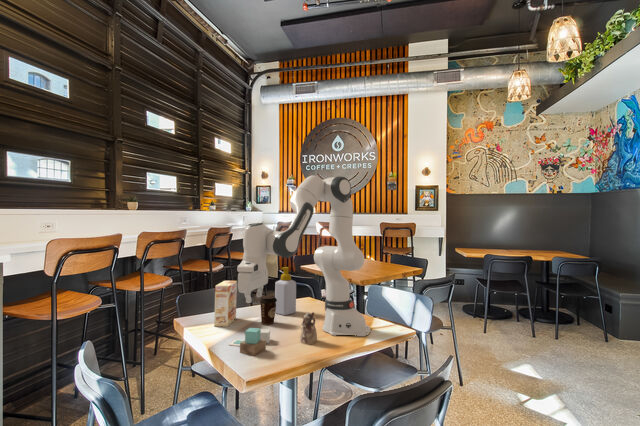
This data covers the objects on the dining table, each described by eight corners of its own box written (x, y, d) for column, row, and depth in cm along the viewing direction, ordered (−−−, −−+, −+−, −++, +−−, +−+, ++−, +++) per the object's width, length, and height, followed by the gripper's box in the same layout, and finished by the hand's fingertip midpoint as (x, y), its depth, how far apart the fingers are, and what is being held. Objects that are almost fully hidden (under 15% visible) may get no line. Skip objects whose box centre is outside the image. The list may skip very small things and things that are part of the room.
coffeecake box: (228, 326, 159) (229, 285, 160) (213, 326, 159) (214, 285, 160) (236, 318, 174) (237, 280, 175) (223, 317, 174) (224, 280, 175)
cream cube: (270, 339, 143) (270, 329, 143) (268, 343, 138) (268, 332, 138) (259, 339, 143) (259, 329, 143) (257, 343, 138) (258, 332, 138)
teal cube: (260, 340, 132) (260, 328, 132) (256, 344, 127) (256, 332, 127) (249, 339, 132) (249, 327, 133) (245, 343, 128) (245, 331, 128)
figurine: (297, 339, 143) (298, 311, 143) (312, 337, 146) (313, 310, 146) (303, 345, 137) (304, 315, 137) (319, 343, 139) (319, 314, 140)
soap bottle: (273, 313, 184) (274, 267, 185) (284, 310, 191) (285, 265, 192) (285, 316, 178) (286, 269, 179) (296, 312, 186) (297, 267, 186)
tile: (248, 341, 140) (248, 340, 140) (242, 346, 134) (242, 345, 134) (235, 340, 141) (235, 338, 141) (228, 345, 136) (228, 343, 136)
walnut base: (265, 350, 131) (265, 340, 131) (254, 356, 125) (254, 346, 125) (251, 347, 134) (251, 337, 135) (239, 353, 128) (240, 342, 128)
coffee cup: (278, 321, 169) (279, 295, 170) (274, 326, 161) (275, 299, 162) (261, 320, 170) (262, 294, 171) (257, 325, 162) (257, 298, 162)
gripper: (257, 260, 142) (257, 293, 141) (234, 267, 122) (234, 305, 121) (271, 261, 140) (271, 294, 140) (250, 268, 120) (250, 307, 120)
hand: (254, 299), depth 131 cm, fingers open, 8 cm apart
